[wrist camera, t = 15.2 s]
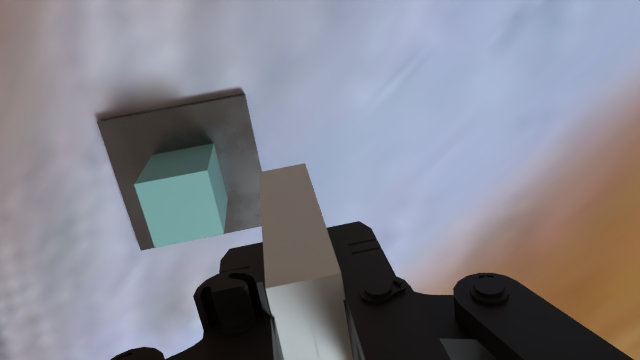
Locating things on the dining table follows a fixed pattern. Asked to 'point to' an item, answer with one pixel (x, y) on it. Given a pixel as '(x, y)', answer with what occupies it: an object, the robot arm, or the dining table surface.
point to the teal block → (183, 195)
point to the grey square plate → (185, 132)
